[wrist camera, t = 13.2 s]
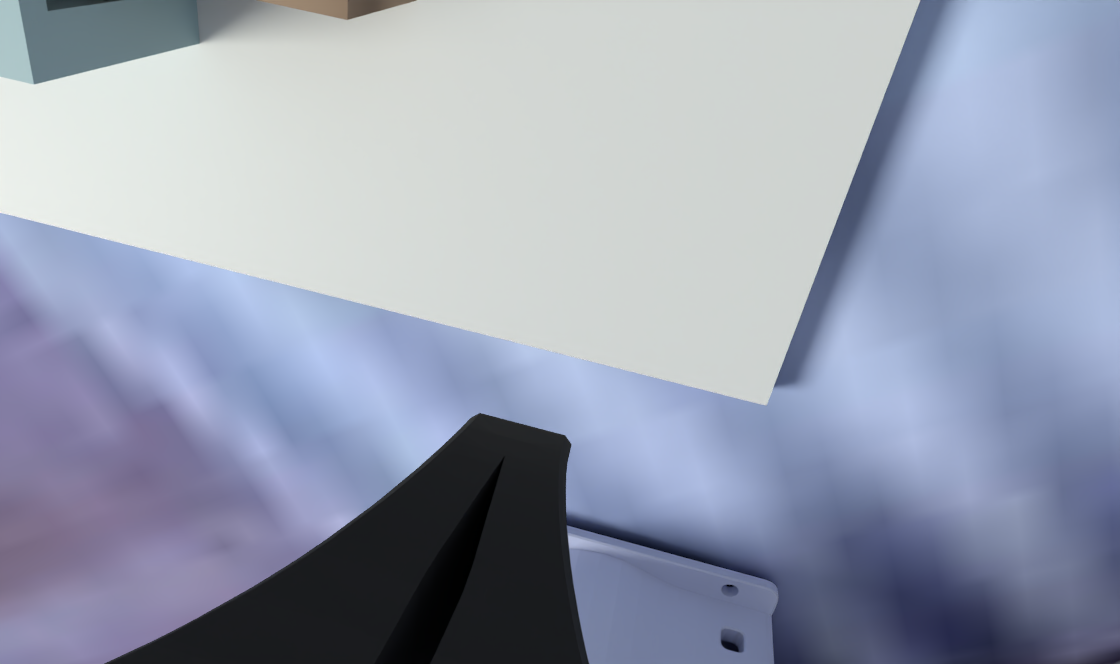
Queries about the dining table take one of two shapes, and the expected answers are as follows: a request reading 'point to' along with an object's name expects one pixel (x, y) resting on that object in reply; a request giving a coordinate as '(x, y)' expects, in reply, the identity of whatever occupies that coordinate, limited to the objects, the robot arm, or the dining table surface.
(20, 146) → the board
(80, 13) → the teal block
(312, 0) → the slat
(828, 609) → the dining table surface
